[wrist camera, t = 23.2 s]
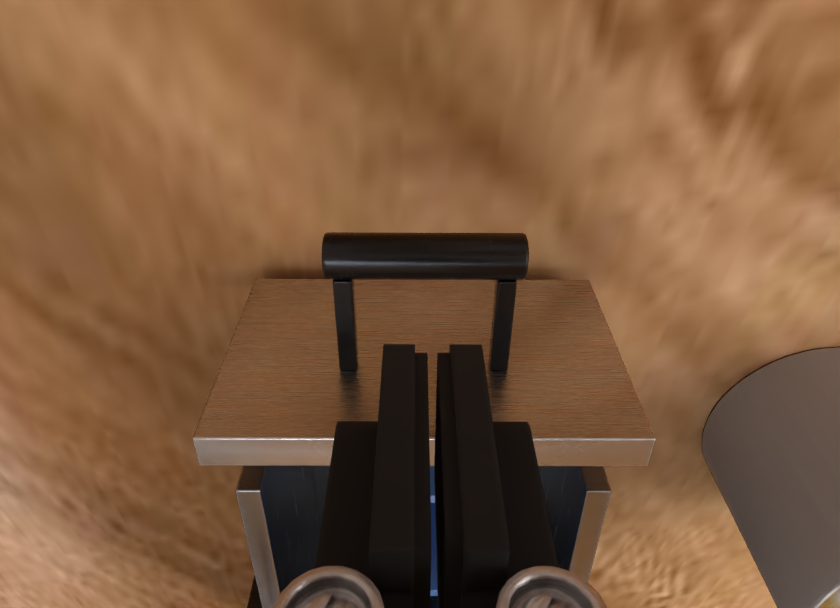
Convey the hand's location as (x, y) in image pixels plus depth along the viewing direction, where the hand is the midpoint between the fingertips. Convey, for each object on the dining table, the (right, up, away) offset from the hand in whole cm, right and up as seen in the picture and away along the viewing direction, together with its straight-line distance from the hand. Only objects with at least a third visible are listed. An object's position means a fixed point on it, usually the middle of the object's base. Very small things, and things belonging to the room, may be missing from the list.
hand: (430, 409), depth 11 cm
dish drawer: (0, -2, +18) cm, 18 cm away
